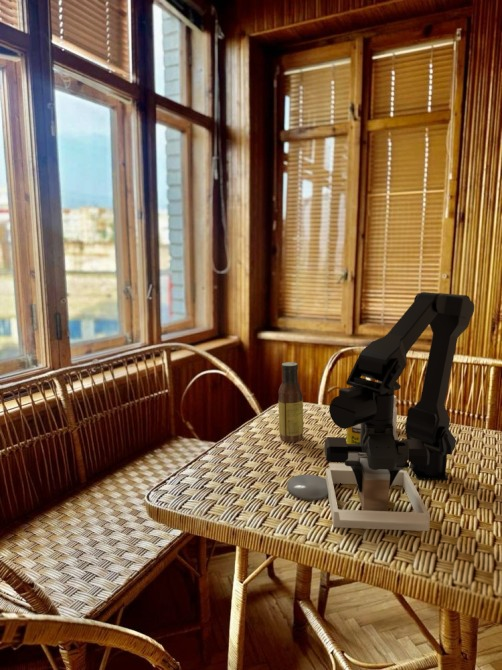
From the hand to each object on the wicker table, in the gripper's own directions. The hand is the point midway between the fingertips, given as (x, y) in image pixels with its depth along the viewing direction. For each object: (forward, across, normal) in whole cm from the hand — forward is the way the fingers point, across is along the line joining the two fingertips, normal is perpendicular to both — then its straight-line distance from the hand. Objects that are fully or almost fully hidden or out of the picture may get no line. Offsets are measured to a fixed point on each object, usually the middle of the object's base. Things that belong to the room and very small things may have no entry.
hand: (373, 491), depth 92 cm
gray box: (+3, 0, 0) cm, 3 cm away
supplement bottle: (+3, 0, +22) cm, 23 cm away
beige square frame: (+2, 0, 0) cm, 2 cm away
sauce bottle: (+3, -16, +30) cm, 34 cm away
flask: (+3, +8, +31) cm, 32 cm away
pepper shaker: (+3, +11, +38) cm, 40 cm away
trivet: (+2, -12, +5) cm, 13 cm away
